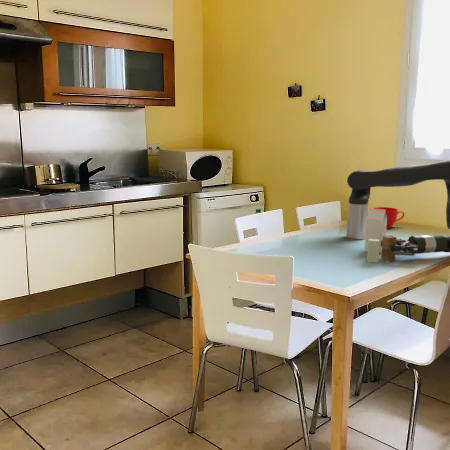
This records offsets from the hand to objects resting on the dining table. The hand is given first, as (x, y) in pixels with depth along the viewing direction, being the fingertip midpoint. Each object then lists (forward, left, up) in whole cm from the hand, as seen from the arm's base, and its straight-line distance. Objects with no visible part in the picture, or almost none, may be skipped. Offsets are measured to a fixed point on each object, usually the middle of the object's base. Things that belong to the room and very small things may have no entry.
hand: (386, 246), depth 215 cm
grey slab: (+7, +19, -7) cm, 21 cm away
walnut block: (+1, +1, -6) cm, 6 cm away
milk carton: (-5, +15, -6) cm, 17 cm away
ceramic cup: (-1, +74, -6) cm, 74 cm away
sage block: (-5, -3, -6) cm, 8 cm away
